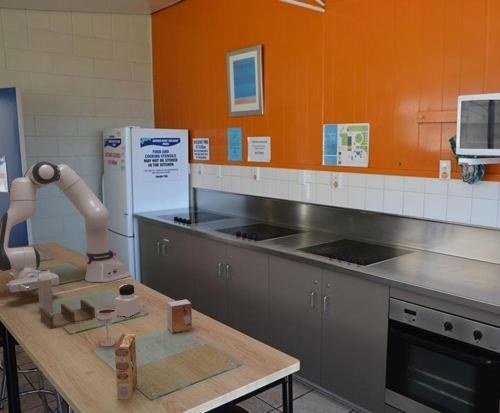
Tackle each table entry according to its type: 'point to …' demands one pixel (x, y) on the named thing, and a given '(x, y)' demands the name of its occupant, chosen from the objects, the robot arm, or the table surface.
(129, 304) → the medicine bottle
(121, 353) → the candy box
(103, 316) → the wineglass
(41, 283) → the tall gray rectangular block
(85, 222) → the robot arm
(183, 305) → the small box
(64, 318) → the rack
